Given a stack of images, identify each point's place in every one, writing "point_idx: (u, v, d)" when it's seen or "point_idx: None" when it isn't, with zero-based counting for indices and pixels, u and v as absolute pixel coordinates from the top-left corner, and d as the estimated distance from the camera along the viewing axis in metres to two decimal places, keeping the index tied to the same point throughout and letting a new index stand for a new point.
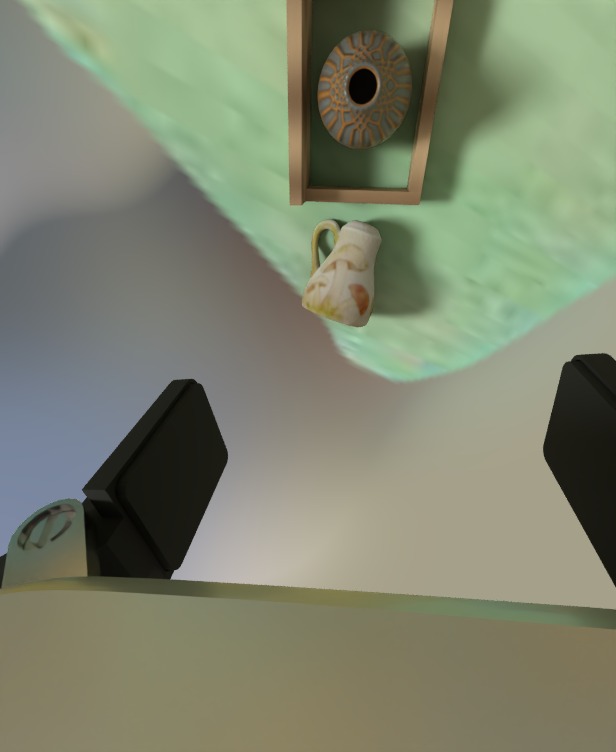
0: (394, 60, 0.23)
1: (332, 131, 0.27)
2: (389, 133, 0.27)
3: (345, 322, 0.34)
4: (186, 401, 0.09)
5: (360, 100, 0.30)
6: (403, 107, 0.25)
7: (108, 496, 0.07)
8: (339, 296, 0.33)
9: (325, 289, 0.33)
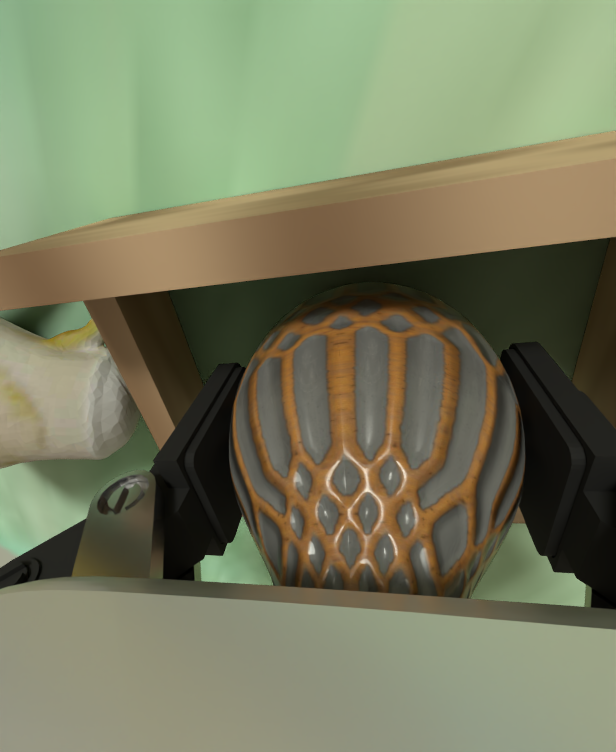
0: None
1: (243, 407, 0.07)
2: None
3: None
4: (235, 383, 0.10)
5: None
6: None
7: (177, 467, 0.07)
8: None
9: None
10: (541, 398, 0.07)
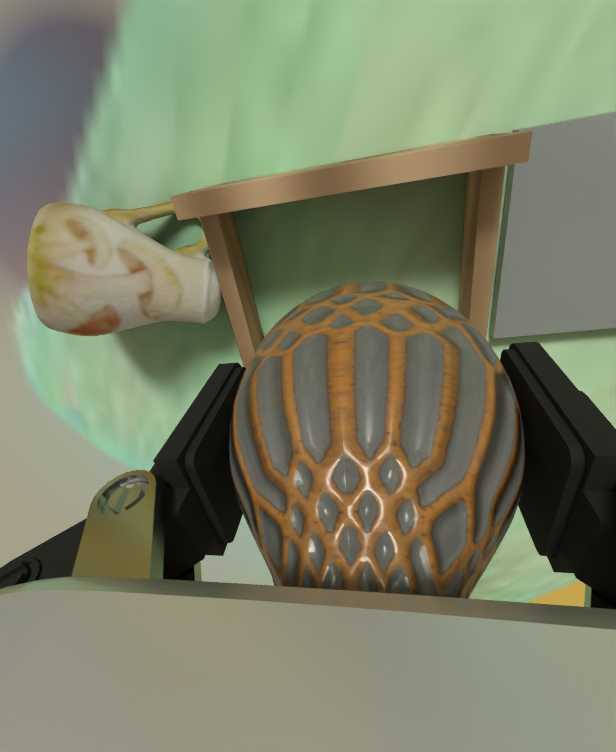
0: None
1: (244, 406, 0.07)
2: None
3: (39, 312, 0.18)
4: (235, 383, 0.10)
5: None
6: None
7: (177, 467, 0.07)
8: (81, 295, 0.18)
9: (83, 266, 0.17)
10: (541, 398, 0.07)
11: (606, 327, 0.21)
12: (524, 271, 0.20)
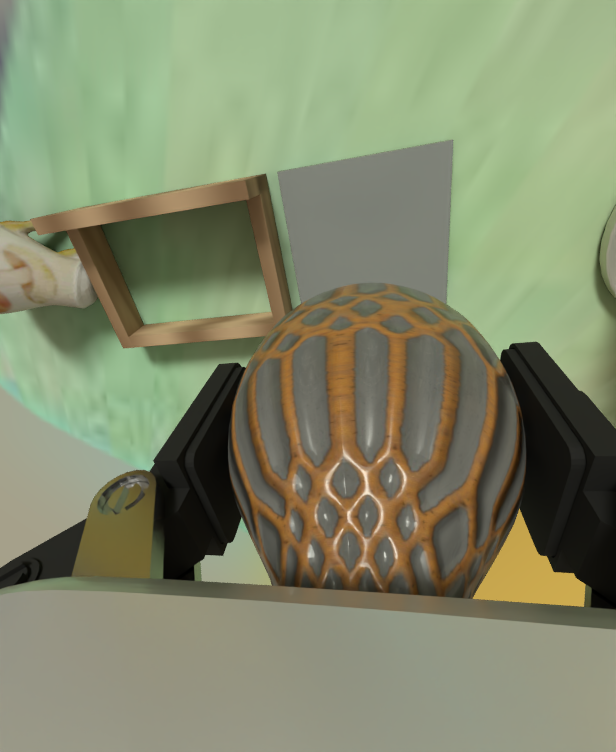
0: None
1: (242, 409, 0.07)
2: None
3: None
4: (235, 383, 0.10)
5: None
6: None
7: (177, 467, 0.07)
8: None
9: None
10: (541, 398, 0.07)
11: None
12: (311, 272, 0.27)
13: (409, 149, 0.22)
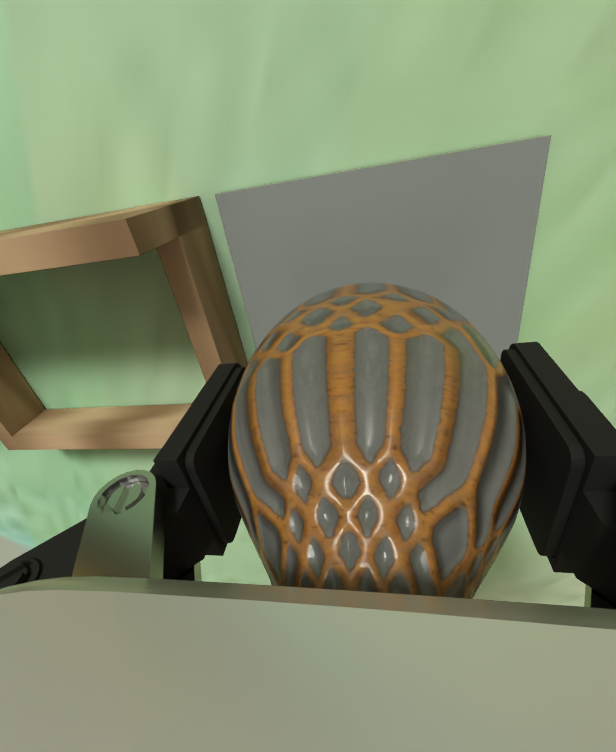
0: None
1: (242, 409, 0.07)
2: None
3: None
4: (235, 383, 0.10)
5: None
6: None
7: (177, 467, 0.07)
8: None
9: None
10: (541, 398, 0.07)
11: None
12: None
13: (460, 154, 0.11)
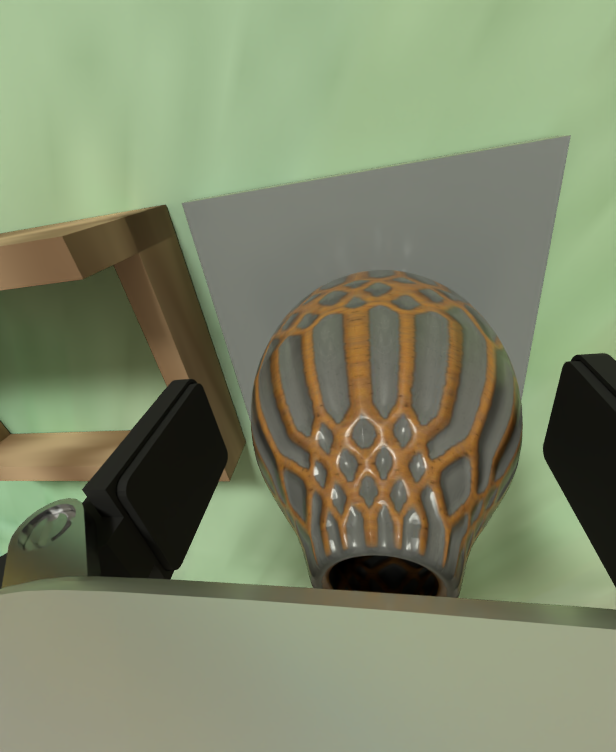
0: None
1: (266, 381, 0.08)
2: None
3: None
4: (186, 401, 0.09)
5: None
6: None
7: (108, 496, 0.07)
8: None
9: None
10: None
11: None
12: None
13: (464, 157, 0.10)
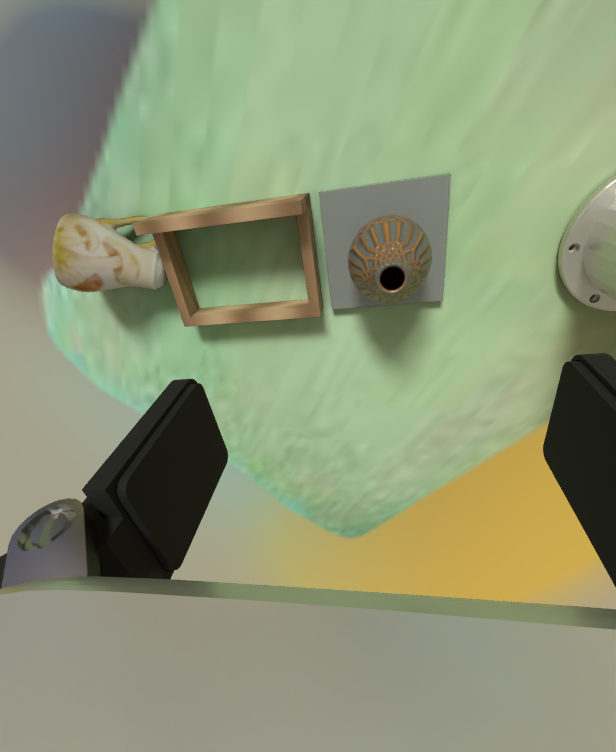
0: (410, 292, 0.28)
1: (359, 242, 0.28)
2: None
3: (57, 274, 0.33)
4: (186, 401, 0.09)
5: None
6: None
7: (108, 496, 0.07)
8: (81, 266, 0.32)
9: (83, 251, 0.32)
10: None
11: (393, 303, 0.36)
12: (339, 268, 0.35)
13: (418, 179, 0.30)
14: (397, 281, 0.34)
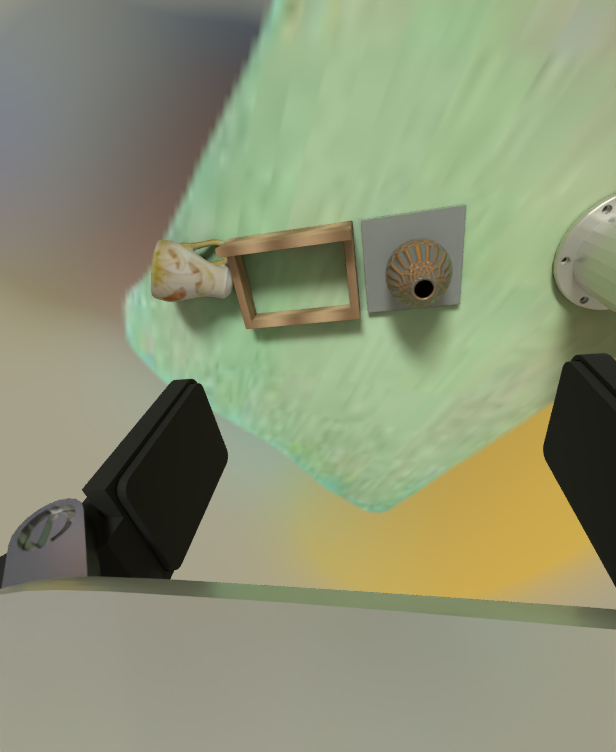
0: (436, 298, 0.37)
1: (396, 261, 0.36)
2: (396, 299, 0.39)
3: (152, 288, 0.41)
4: (186, 401, 0.09)
5: None
6: (411, 306, 0.38)
7: (108, 496, 0.07)
8: (172, 282, 0.41)
9: (174, 269, 0.41)
10: None
11: (419, 307, 0.44)
12: (375, 279, 0.43)
13: (440, 210, 0.38)
14: (423, 289, 0.42)
